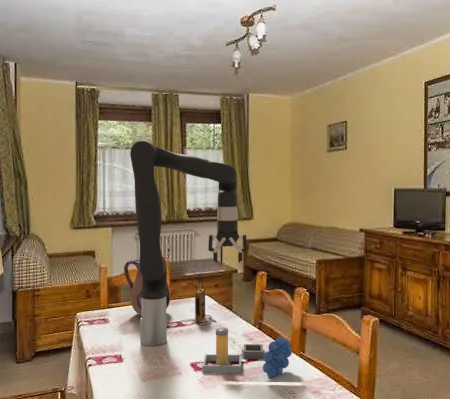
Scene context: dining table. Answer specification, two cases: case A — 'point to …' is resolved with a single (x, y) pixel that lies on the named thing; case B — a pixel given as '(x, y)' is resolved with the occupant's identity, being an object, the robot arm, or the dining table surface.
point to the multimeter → (200, 304)
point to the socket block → (253, 351)
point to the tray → (221, 367)
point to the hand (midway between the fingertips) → (227, 262)
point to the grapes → (277, 357)
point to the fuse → (222, 346)
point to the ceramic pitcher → (138, 287)
